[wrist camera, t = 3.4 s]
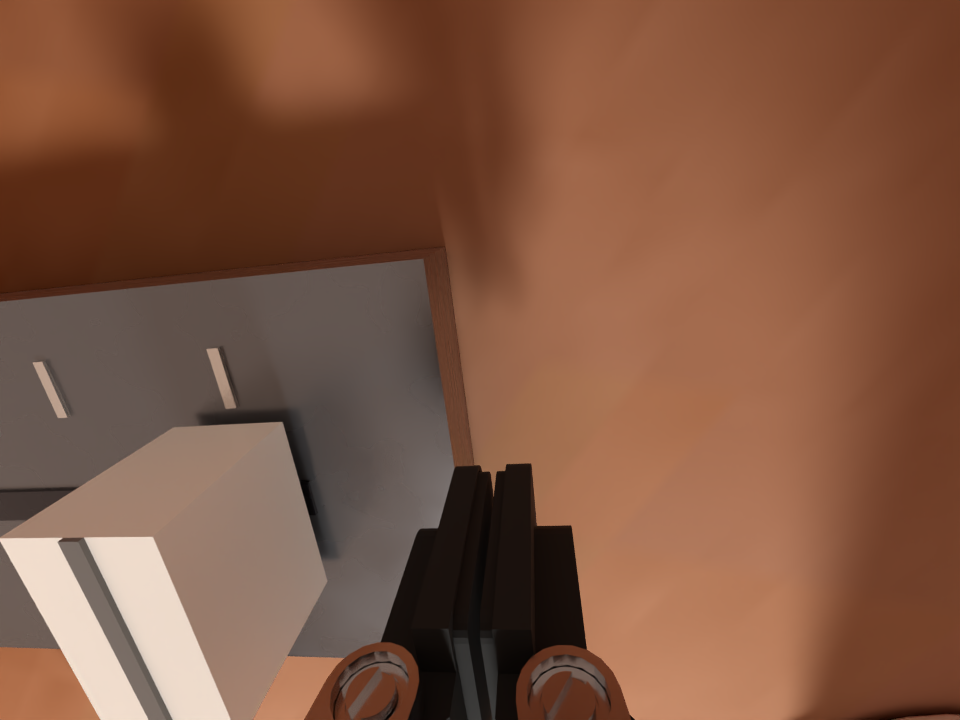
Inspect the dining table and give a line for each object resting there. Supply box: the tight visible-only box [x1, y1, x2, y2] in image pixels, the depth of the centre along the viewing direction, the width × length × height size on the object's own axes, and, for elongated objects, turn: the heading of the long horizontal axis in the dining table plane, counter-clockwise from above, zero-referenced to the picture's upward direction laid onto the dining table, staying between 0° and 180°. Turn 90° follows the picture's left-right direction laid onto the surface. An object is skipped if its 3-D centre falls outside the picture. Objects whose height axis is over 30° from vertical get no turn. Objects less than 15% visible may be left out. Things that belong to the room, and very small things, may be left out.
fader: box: [0, 422, 328, 720], centre depth 10 cm, size 3×5×4 cm, turn 7°
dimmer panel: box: [0, 247, 474, 658], centre depth 15 cm, size 27×12×3 cm, turn 97°
